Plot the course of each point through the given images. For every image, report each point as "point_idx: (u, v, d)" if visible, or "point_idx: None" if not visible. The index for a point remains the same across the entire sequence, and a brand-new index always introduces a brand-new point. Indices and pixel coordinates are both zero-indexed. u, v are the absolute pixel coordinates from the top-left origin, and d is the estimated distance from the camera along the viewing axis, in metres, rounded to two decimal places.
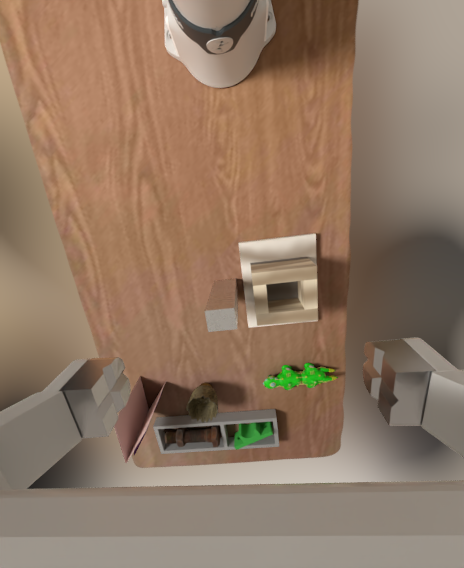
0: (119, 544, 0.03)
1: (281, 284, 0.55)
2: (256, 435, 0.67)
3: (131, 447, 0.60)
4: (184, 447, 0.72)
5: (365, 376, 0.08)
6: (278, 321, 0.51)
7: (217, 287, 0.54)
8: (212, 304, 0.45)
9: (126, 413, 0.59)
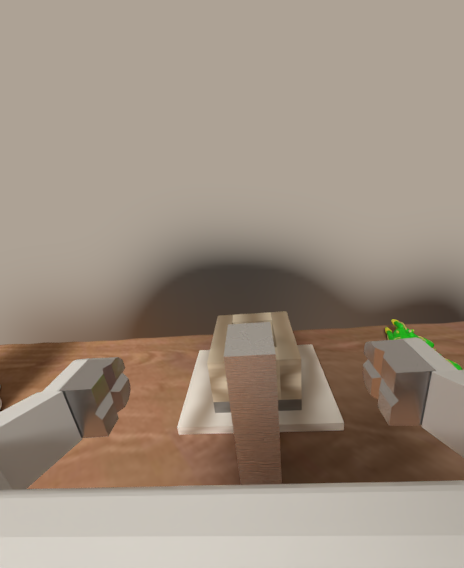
0: (119, 544, 0.03)
1: None
2: None
3: None
4: None
5: (365, 376, 0.08)
6: (291, 338, 0.34)
7: None
8: None
9: None
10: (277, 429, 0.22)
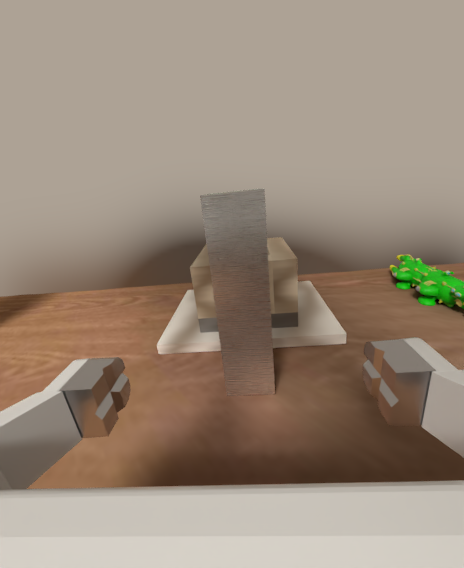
0: (119, 544, 0.03)
1: None
2: None
3: None
4: None
5: (365, 376, 0.08)
6: (286, 249, 0.30)
7: None
8: None
9: None
10: (268, 303, 0.19)
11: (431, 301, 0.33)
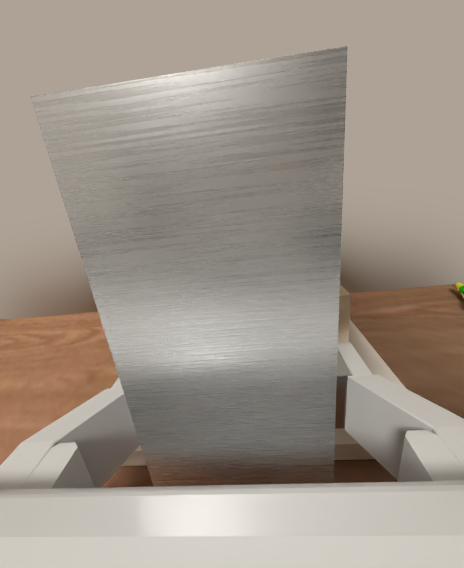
0: (119, 544, 0.03)
1: None
2: None
3: None
4: None
5: None
6: None
7: None
8: None
9: None
10: None
11: None
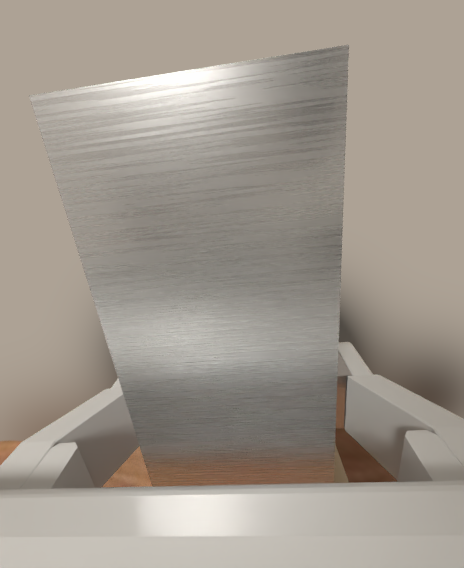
0: (119, 544, 0.03)
1: None
2: None
3: None
4: None
5: None
6: None
7: None
8: None
9: None
10: None
11: None
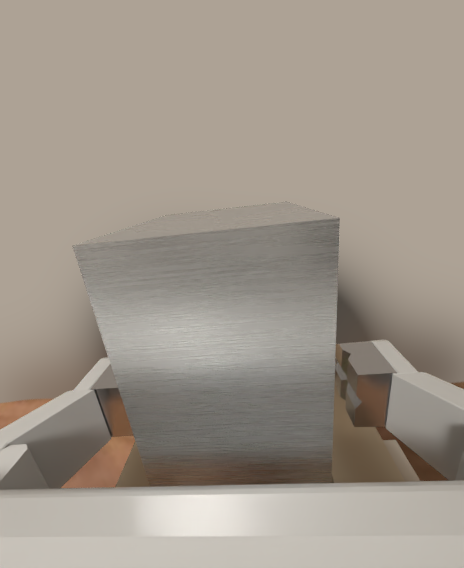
0: (119, 544, 0.03)
1: None
2: None
3: None
4: None
5: (336, 378, 0.08)
6: None
7: None
8: None
9: None
10: None
11: None
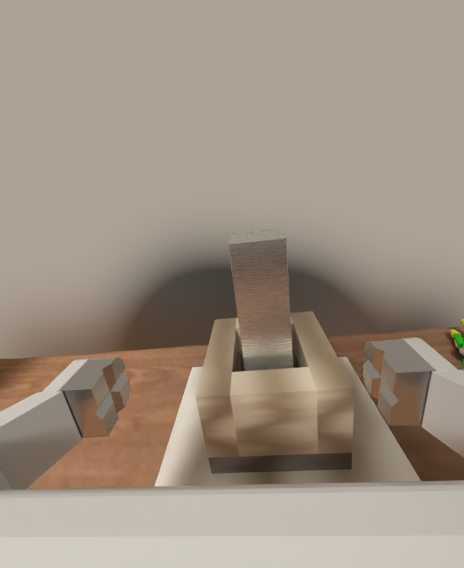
0: (119, 544, 0.03)
1: None
2: None
3: None
4: None
5: (365, 376, 0.08)
6: (328, 351, 0.21)
7: None
8: None
9: None
10: (289, 336, 0.20)
11: None
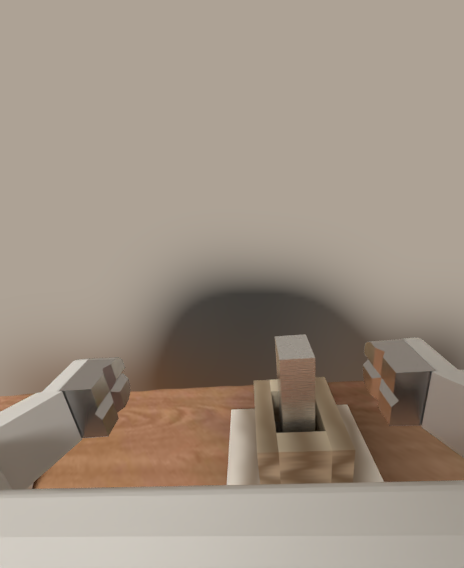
0: (119, 544, 0.03)
1: None
2: None
3: None
4: None
5: (365, 376, 0.08)
6: (338, 418, 0.33)
7: None
8: (279, 370, 0.31)
9: None
10: (313, 411, 0.32)
11: None
